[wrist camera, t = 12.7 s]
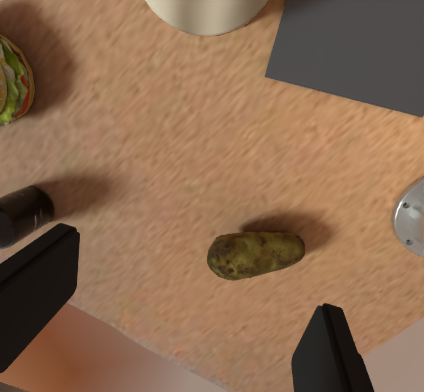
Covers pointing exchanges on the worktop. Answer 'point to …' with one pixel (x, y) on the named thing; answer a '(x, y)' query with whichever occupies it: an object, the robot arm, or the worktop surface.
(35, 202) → the supplement bottle
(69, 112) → the worktop surface
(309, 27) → the mat
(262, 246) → the potato
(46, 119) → the worktop surface
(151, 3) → the lid
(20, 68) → the food
